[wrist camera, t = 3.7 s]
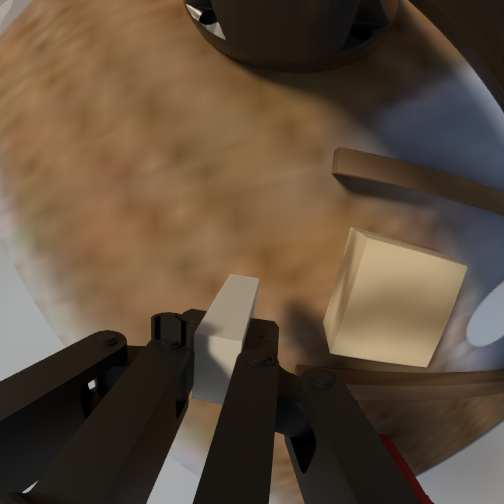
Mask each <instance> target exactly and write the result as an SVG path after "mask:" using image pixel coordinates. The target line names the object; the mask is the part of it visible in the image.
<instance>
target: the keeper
mask: <svg viewBox="0 0 504 504" xmlns="http://www.w3.org/2000/svg"><path fill="white" fill-rule="evenodd" d="M467 267H468V266H466V265H464V264H462V263H460V262H458V261H456V260H454V259H453V258H451V257H449V256H447V255H445V254H443V253H441V252H439V251H436V250H433V249H429V248H426V247H423V246H419V245H416V244H412V243H409V242H405V241H402V240H398V239H395V238H391V237H388V236H384V235H380V234H377V233H373V232H369V231H366V230H362V229H358V228H354V227H351V229H350V233H349V236H348V240H347V244H346V248H345V251H344V255H343V258H342V262H341V265H340V269H339V272H338V276H337V279H336V283H335V286H334V289H333V292H332V296H331V299H330V302H329V305H328V308H327V312H326V315H325V318H324V321H323V325H324V329H325V333H326V337H327V342H328V346H329V351H330V353H331V354H337V355H342V356H348V357H354V358H360V359H367V360H373V361H380V362H387V363H395V364H403V365H411V366H419V367H427V366H428V364H429V362H430V360H431V358H432V355H433V353H434V351H435V349H436V347H437V345H438V343H439V340H440V338H441V336H442V334H443V331H444V329H445V327H446V324H447V322H448V319H449V317H450V315H451V312H452V309H453V307H454V304H455V302H456V299H457V296H458V293H459V291H460V288H461V285H462V282H463V279H464V276H465V273H466V270H467Z"/></svg>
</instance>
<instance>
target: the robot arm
mask: <svg viewBox="0 0 504 504" xmlns="http://www.w3.org/2000/svg"><path fill="white" fill-rule="evenodd" d="M183 1H184V4H185V8H186V10H187V12H188V14H189V16H190V18H191V19H192V21H193V23H194V24H195V26H196V27H197V29H198V30H199V32H200V33H201V34H202V36H203V37H204V38H205V39H206V40H207V41H208V42H209V43H210V44H211V45H213V46H214V47H215V48H216V49H218V50H219V51H221V52H222V53H224V54H226V55H227V56H229V57H231V58H233V59H236V60H238V61H240V62H243V63H246V64H248V65H252V66H255V67H259V68H263V69H268V70H273V71H281V72H316V71H324V70H329V69H333V68H337V67H341V66H344V65H347V64H349V63H352V62H354V61H356V60H358V59H360V58H362V57H363V56H365V55H366V54H368V53H369V52H370V51H372V50H373V49H374V48H375V47H376V46H377V45H378V44H379V43H380V41H381V40H382V39H383V37H384V36H385V34H386V33H387V31H388V30H389V28H390V27H391V25H392V23H393V21H394V19H395V16H396V13H397V8H398V0H183ZM408 1H410V2H411V3H412V4H413V5H414V6H415V7H416V8H417V9H418V10H419V11H420V12H422V13H423V14H424V15H425V16H426V17H427V18H428V19H429V20H430V21H431V22H432V23H433V24H434V25H435V26H436V27H437V28H438V29H439V30H440V31H441V32H442V33H443V35H444V36H445V37H446V38H447V39H448V40H449V41H450V42H451V43H452V44H453V46H454V47H455V48H456V49H457V50H458V51H459V52H460V54H461V55H462V56H463V57H464V58H465V60H466V61H467V62H468V63H469V65H470V66H471V67H472V68H473V70H474V71H475V72H476V74H477V75H478V76H479V78H480V79H481V80H482V82H483V83H484V84H485V86H486V87H487V89H488V90H489V91H490V93H491V94H492V96H493V97H494V99H495V100H496V102H497V103H498V105H499V106H500V108H501V109H502V111H503V113H504V0H408ZM258 285H259V278H253V277H246V276H240V275H233V274H230V275H229V277H228V278H227V280H226V282H225V283H224V285H223V287H222V288H221V290H220V292H219V293H218V295H217V296H216V298H215V300H214V301H213V303H212V305H211V306H210V308H209V310H208V311H202V310H197V309H190V310H188V311H186V312H184V313H183V314H182V315H181V314H178V313H171V312H167V313H159V314H155V315H154V316H152V317H151V341H150V342H149V343H148V344H147V345H146V346H129V345H127V339H126V338H125V336H124V335H123V334H121V333H119V332H116V331H110V330H105V331H99V332H96V333H94V334H92V335H90V336H88V337H86V338H84V339H82V340H80V341H78V342H76V343H74V344H72V345H70V346H68V347H66V348H64V349H63V350H61V351H59V352H57V353H55V354H53V355H51V356H49V357H47V358H45V359H44V360H41V361H39V362H37V363H35V364H33V365H31V366H30V367H28V368H26V369H24V370H22V371H20V372H18V373H16V374H14V375H12V376H10V377H8V378H7V379H4V380H2V381H0V504H146V503H147V500H148V498H149V496H150V493H151V491H152V489H153V486H154V484H155V482H156V480H157V477H158V475H159V473H160V471H161V468H162V466H163V464H164V461H165V459H166V457H167V454H168V452H169V450H170V448H171V445H172V443H173V441H174V438H175V436H176V434H177V431H178V429H179V427H180V425H181V422H182V420H183V418H184V415H185V413H186V411H187V408H188V403H189V394H190V392H191V389H192V398H194V399H199V400H203V401H208V402H213V403H218V404H223V406H222V409H221V413H220V416H219V419H218V423H217V426H216V429H215V433H214V436H213V439H212V443H211V446H210V449H209V452H208V456H207V459H206V462H205V465H204V469H203V472H202V475H201V478H200V482H199V485H198V488H197V491H196V495H195V498H194V501H193V504H269V494H270V484H271V472H272V460H273V448H274V435H275V432H278V433H281V434H284V437H285V443H286V446H287V449H288V452H289V456H290V459H291V462H292V465H293V468H294V472H295V475H296V478H297V481H298V484H299V487H300V490H301V493H302V497H303V500H304V503H305V504H421V502H420V500H419V499H418V497H417V496H416V494H415V492H414V491H413V489H412V488H411V486H410V485H409V483H408V481H407V480H406V478H405V477H404V475H403V474H402V472H401V470H400V469H399V467H398V466H397V464H396V462H395V461H394V459H393V458H392V456H391V455H390V453H389V451H388V450H387V448H386V447H385V445H384V444H383V442H382V440H381V439H380V437H379V436H378V434H377V433H376V431H375V430H374V428H373V426H372V425H371V423H370V422H369V420H368V419H367V417H366V415H365V414H364V412H363V411H362V409H361V408H360V406H359V405H358V403H357V401H356V400H355V398H354V397H353V395H352V394H351V392H350V391H349V389H348V387H347V386H346V384H345V383H344V381H343V380H342V378H341V377H340V376H339V375H338V374H336V373H334V372H332V371H330V370H326V369H319V368H314V369H308V370H306V371H305V372H303V373H302V375H301V376H298V375H294V374H292V373H289V372H287V371H286V370H284V369H283V368H282V367H281V366H280V365H279V361H278V359H277V356H278V338H279V327H278V325H277V324H276V323H275V322H274V321H269V320H262V319H255V318H254V314H255V307H256V300H257V293H258ZM92 380H94V381H95V387H94V388H92V389H89V387H88V383H89V382H91V381H92ZM37 481H38V482H37ZM35 482H37V483H36V484H35V486H34V487H33V488H32V489H31V490H30V491H29V492H27V493H22V492H23V491H25V490H26V489H27V488H28V487H30V486H31V485H32V484H34V483H35Z"/></svg>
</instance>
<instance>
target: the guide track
mask: <svg viewBox="0 0 504 504" xmlns="http://www.w3.org/2000/svg"><path fill="white" fill-rule="evenodd" d="M332 174H337V175H343V176H348V177H354V178H359V179H364V180H369V181H374V182H379V183H384V184H388V185H393V186H397V187H402V188H406V189H410V190H415V191H419V192H423V193H427V194H431V195H435V196H439V197H443V198H446V199H450V200H454V201H457V202H461V203H464V204H468V205H471V206H475V207H478V208H481V209H485V210H488V211H491V212H494V213H497V214H500V215H503V216H504V192H502V191H499V190H496V189H494V188H491V187H488V186H485V185H482V184H479V183H476V182H474V181H471V180H467V179H464V178H461V177H458V176H455V175H452V174H448V173H445V172H442V171H438V170H435V169H431V168H428V167H424V166H420V165H417V164H413V163H409V162H405V161H401V160H397V159H393V158H389V157H384V156H380V155H375V154H371V153H366V152H361V151H356V150H351V149H346V148H341V147H339V148H338V149H336V150H335V151H334V158H333V166H332ZM314 368H319V369H326V370H330V371H332V372H334V373H336V374H338V375H339V376H340V377H341V378H342V380H343V381H344V383H345V384H346V386H347V387H348V389H349V391H350V392H351V394H352V395H353V397H354V398H355V400H361V401H424V400H443V399H457V398H468V397H477V396H486V395H493V394H500V393H504V370H494V371H479V372H454V373H403V372H377V371H360V370H346V369H334V368H323V367H314V366H305V365H296V369H295V373H294V375H298V376H301V375H302V373H303V372H305V371H306V370H308V369H314Z"/></svg>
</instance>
